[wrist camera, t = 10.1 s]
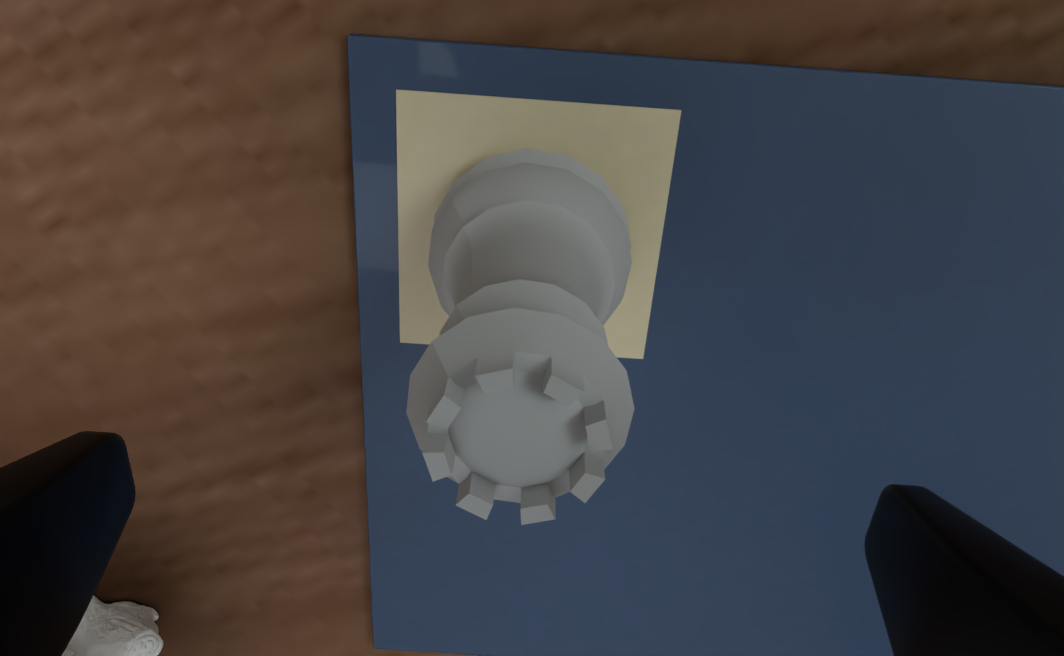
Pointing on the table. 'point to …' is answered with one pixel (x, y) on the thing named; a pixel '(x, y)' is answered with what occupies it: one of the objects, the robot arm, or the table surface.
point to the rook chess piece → (524, 335)
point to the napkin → (724, 341)
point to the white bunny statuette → (116, 631)
